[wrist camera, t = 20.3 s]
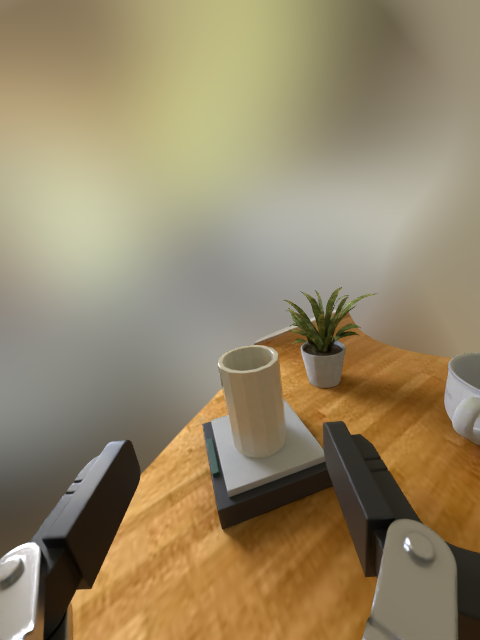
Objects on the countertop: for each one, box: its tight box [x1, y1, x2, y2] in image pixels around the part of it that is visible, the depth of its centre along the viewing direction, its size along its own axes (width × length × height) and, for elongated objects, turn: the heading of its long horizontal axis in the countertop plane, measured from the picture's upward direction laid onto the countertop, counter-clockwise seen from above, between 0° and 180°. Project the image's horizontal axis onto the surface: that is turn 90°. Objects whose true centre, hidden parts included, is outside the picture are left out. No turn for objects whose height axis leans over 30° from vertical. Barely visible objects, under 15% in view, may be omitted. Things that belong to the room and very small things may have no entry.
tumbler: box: [218, 345, 287, 458], centre depth 27 cm, size 6×6×10 cm
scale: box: [203, 398, 333, 529], centre depth 29 cm, size 12×12×3 cm
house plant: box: [285, 288, 375, 388], centre depth 41 cm, size 14×14×16 cm
